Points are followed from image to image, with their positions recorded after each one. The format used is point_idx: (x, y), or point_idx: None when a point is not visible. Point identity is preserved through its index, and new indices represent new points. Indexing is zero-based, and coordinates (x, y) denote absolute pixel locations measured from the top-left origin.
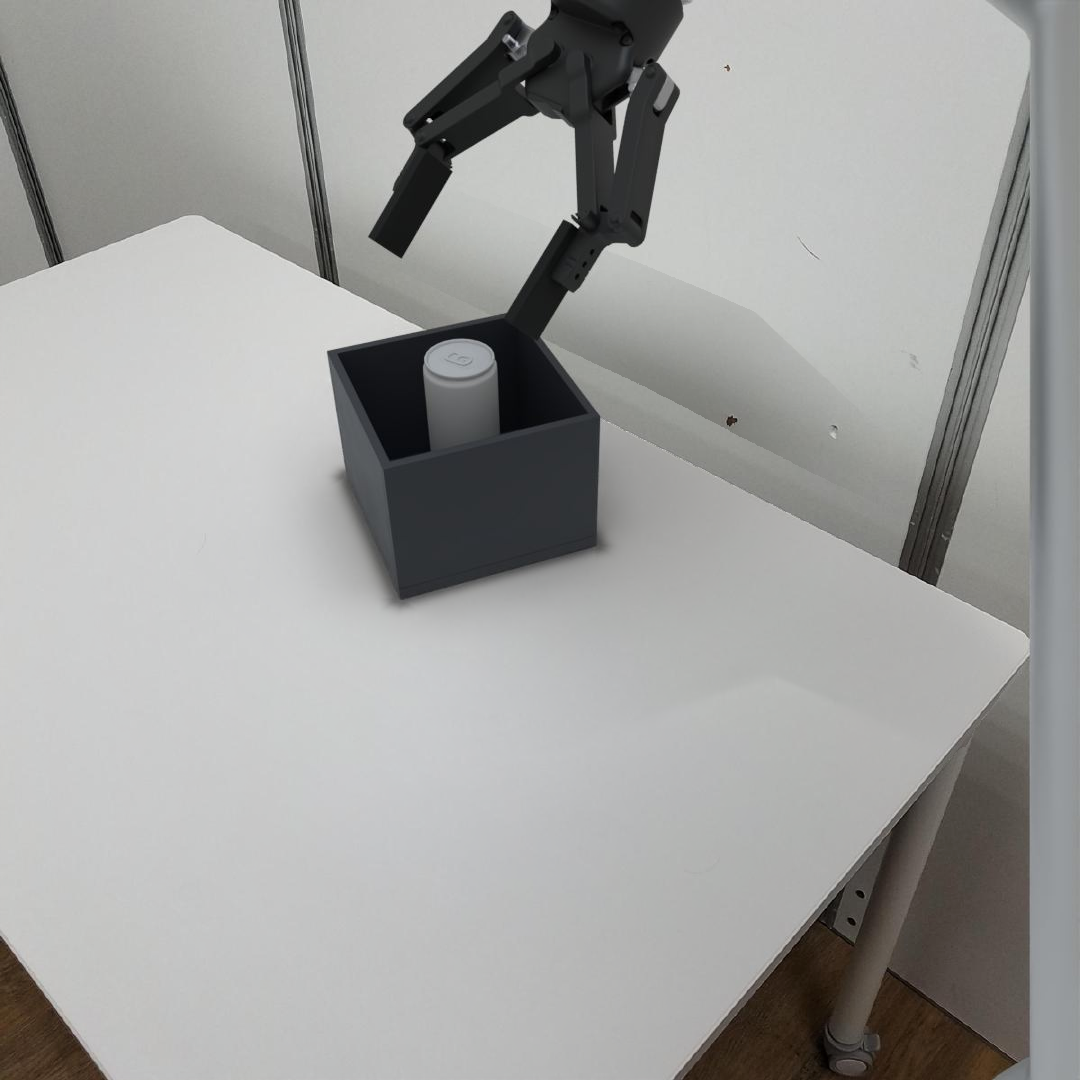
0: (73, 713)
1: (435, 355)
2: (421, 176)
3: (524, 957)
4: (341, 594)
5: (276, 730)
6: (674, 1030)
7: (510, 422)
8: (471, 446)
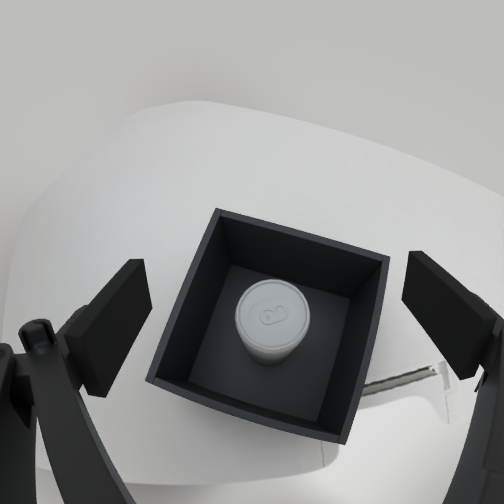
0: (268, 129)
1: (293, 298)
2: (458, 315)
3: (64, 201)
4: None
5: (200, 177)
6: (24, 222)
7: (319, 416)
8: (189, 271)
